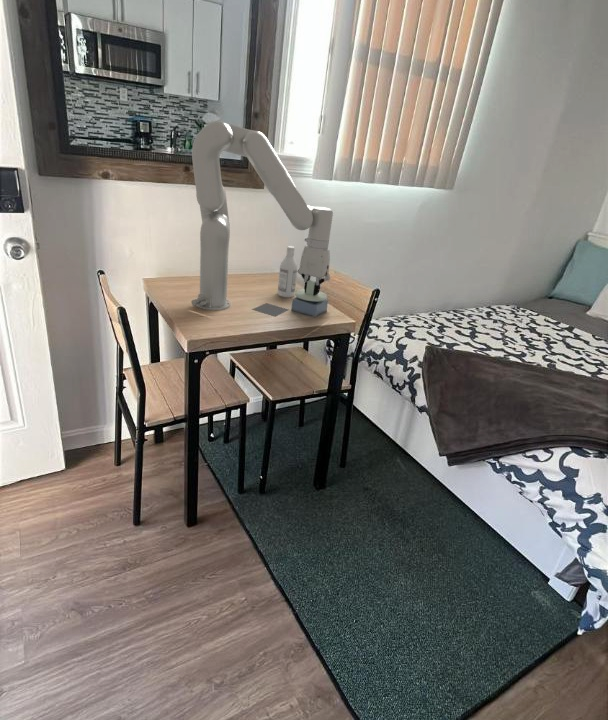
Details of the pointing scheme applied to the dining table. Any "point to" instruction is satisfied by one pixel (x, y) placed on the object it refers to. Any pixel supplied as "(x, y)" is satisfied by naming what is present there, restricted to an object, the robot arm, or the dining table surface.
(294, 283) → the bath foam
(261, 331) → the dining table surface
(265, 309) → the mat
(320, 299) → the lid
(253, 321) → the dining table surface
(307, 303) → the dish
